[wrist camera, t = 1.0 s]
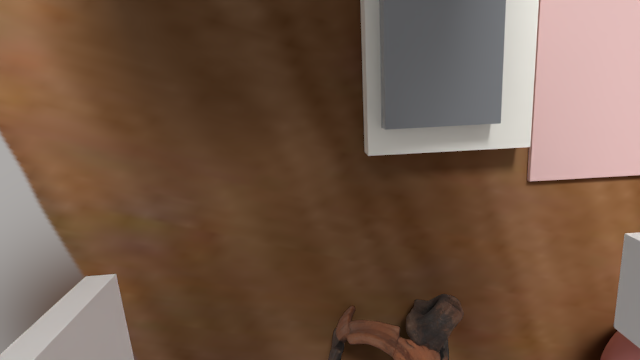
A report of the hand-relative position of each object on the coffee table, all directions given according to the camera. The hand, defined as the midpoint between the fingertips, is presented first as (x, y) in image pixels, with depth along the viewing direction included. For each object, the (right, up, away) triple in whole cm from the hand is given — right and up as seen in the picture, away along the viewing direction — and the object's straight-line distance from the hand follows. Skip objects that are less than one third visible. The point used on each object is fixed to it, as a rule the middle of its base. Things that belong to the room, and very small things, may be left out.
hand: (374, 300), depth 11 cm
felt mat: (+21, +11, +21) cm, 31 cm away
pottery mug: (+5, -10, +25) cm, 27 cm away
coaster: (+7, +12, +18) cm, 23 cm away
